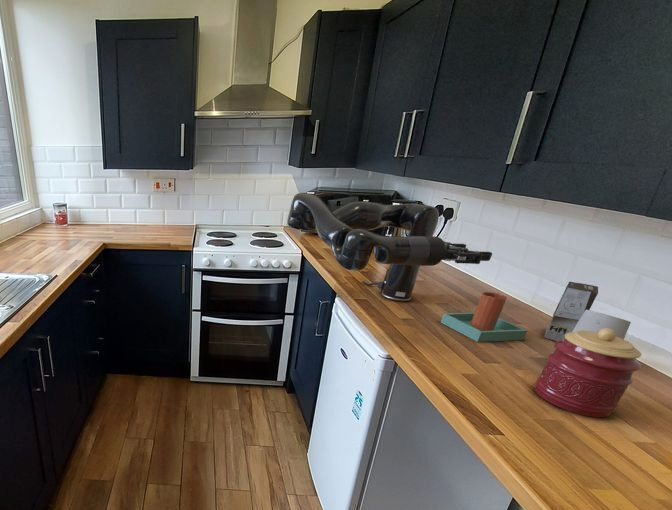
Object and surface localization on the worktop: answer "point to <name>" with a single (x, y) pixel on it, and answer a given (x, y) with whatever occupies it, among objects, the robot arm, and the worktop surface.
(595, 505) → the worktop surface
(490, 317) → the tumbler
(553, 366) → the kitchen canister
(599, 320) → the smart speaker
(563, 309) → the coffee box
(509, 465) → the worktop surface
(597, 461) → the worktop surface
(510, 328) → the tray
